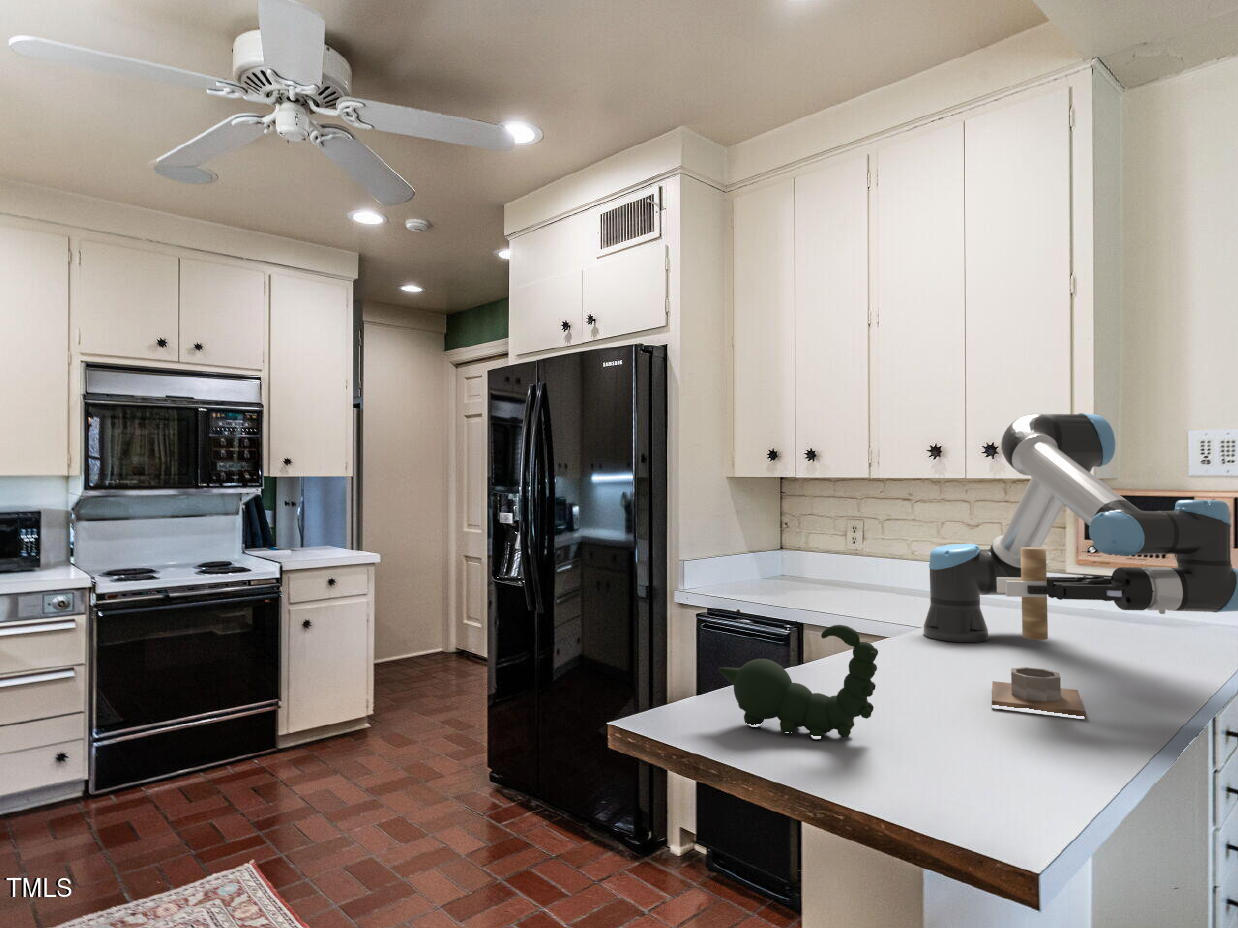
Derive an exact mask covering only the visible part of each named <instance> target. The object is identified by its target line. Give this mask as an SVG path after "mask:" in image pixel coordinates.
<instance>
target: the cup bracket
mask: <svg viewBox="0 0 1238 928" xmlns="http://www.w3.org/2000/svg"><path fill="white" fill-rule="evenodd" d="M1010 672H1011V673H1010V674H1011V682H1004V681H1003V682H1002V681H992V685H991V686H992V688H991V706H992V705H999V706H1007V707H1014V708H1029V709H1034V710H1041V711H1047V712H1054V713H1062V714H1068V715H1076V716H1084V717H1085V718H1086V709H1085V706H1084V704H1083V701H1082V699H1081V695H1080V693H1079V690H1078V689H1070V688H1061V686H1062V685H1061V684H1062V683H1061V682H1062V681H1061V674H1060V672H1057V671H1053V670H1049V669H1046V668H1039V667H1038V668H1037V667H1028V666H1023V667H1012V668H1011V669H1010Z"/></svg>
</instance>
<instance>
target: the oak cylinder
mask: <svg viewBox="0 0 1238 928" xmlns="http://www.w3.org/2000/svg"><path fill="white" fill-rule="evenodd" d="M1047 577H1048V576H1047V548H1044V547H1041V548H1033V547H1024V548H1021V581H1045V582H1046V586H1047ZM1021 623H1022V624H1021V627H1022V628H1021V629H1022V632H1021V633H1022V638H1024V639H1028V640H1037V641H1038V640H1039V641H1044V640H1045V641H1046V640H1048V639H1049V628H1048V627H1049V623H1048V596H1047V597H1021Z"/></svg>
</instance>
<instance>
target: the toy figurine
mask: <svg viewBox="0 0 1238 928" xmlns="http://www.w3.org/2000/svg"><path fill="white" fill-rule="evenodd" d="M820 637H821V638H822V639H826V638H828V637H836V638H838V639H840V640H841V641H843V643H844V644H846V645H848V646H849V647H853V648H852V656H853V657H852V658H851V659H850V661H849V663H848V674H847V675H846V676H845V678H844V680H843V687H842V688H841V689H840V690H839V691H838V692H837V694H836V695H831V696H829V695H826V694H823V693H819V692H814V693H813V692H812V691H811V690H810V688H808V687H807V686H806V685H804V684H803V683H802V684H801V683H800V682H799V683H797V682H792V679H791V676H790V674H789V673H788V672H787V671H786V669H785V668H784V667H783V666H782V665H780V664H779V663H777V662H775V661H773V660H771V659H769V658H757V659H752V660H750V661H747V662H746V663H743V665H742V666H741V667H728V666H727V667H726V666H725V667H723V666H722V667H718V668H717V671H718V672H719V674H721V675H722V676H723V677H724V678H725V679H726V680H728V681H729V682H730V683H731V685H733V693H734V697H735V700H736V703H737V704H738V705H737V706H738V708H739V709H740V710H743V712H744V714H743V719H744V721H743V722H744V723H745V724H746V723H747V724H751V725H754V724H755V725H756V724H761V723H762V722H763V723H764V721H765V720H772V719H775V718H777V719H778V720H779V721H780V722H779V728H780V731H781V732H782V733H784V732H789V733H791V732H793V733H794V732H795V731H797V728H802V727H803V728H804V729H806V730H807V731H808V730H809V731H808V732H809V733H808V734H810V735H813V736H822V735H823V736H824V734H823V733H825V734H827V732H828V733H830V732H831V731H833V730H837V733H838V734H837V735H839V736H840V737H841V738H848V737H850V735H851V733H852V729H853V728H854V726H855V721H854V720H855V718H856V717H861V718H863V719H866V720H867V719H869V718H871V717H872V713H874V705H873V704H872V703H871V702H869V701H868V698H870V697H871V696H873V694H874V691H875V690H876V685H877V684H876V683H875V682H873V681H872V679H873V678H874V676H875V674H876V672H877V670H878V667H877V664H876V663H875V662H874V661H876V659H877V657H878V654H879V650H878V648H877V647H874V645H873V644H872V643H870V642H868V641H860V635H859V633H858V632H857V631H856V630H855V629H854V628H852V627H851V626H848V625H843V624H834V625H831V626H829V627H827V628H825V629H824V630H823V631H822V633H821V636H820ZM747 724H746V725H747ZM810 735H809V736H810ZM823 736H822V737H823Z"/></svg>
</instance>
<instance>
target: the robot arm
mask: <svg viewBox="0 0 1238 928" xmlns="http://www.w3.org/2000/svg"><path fill="white" fill-rule="evenodd" d="M1000 442H1001V443H1000V444H1001V445H1000V446H1001V452H1002V456H1003V457H1004V459H1005V461H1006V463H1007V464H1008V465H1010V467H1012V468H1013V469H1014V470H1015V471H1016V472H1017V473H1019V474H1021V475H1022V476H1027V477H1028V476H1029V477H1031V478H1030V480H1029V482H1028V483H1027V486H1026V488H1025V490H1024V492H1023V495H1022V497H1021V498H1020V500H1019V503H1018V504H1017V507H1016V509H1015V511H1014V513H1013V515H1012V517H1011V519H1010V522H1009V523H1008V526H1007V528H1006V530H1005V532H1004V534H1002V535H998V536H997V537H996V538H995V539H994V540H993V541H992V543H991V545H990V548H988V549H987V548H986V549H984V548H983V549H980V546H979V545H978V544H976V543H957V544H956V543H955V544H953V543H952V544H947V545H946V544H945V545H941V546H938V547H934V548H933V549H932V550H931V551H930V553H929V564H928V567H929V591H930V593H929V595H930V598H929V599H930V602H929V603H930V604H929V608H928V611H927V614H926V616H925V617H926V618H925V620H924V624H923V636H925V637H927V638H930V639H934V640H938V641H946V642H953V643H954V642H955V643H980V642H985V641H988V640H989V629H988V626H987V623H986V620H985V618H984V614H983V613H982V609H981V596H1006V598H1007V597H1009V598H1010V597H1012V598H1017V597H1018V598H1022V597H1047V598H1051V599H1054V598H1056V599H1057V600H1060V601H1062V600H1076V601H1077V600H1080V601H1081V600H1083V601H1086V600H1087V601H1103V602H1104V601H1105V602H1114V605H1116V607H1117V608H1119V609H1120V610H1122V611H1145V610H1148V611H1158V613H1159V614H1160V615H1165V614H1166V611H1169V612H1170V611H1172V612H1175V611H1176V612H1200V613H1201V612H1202V613H1221V612H1222V613H1223V612H1226V613H1227V612H1238V568H1234V567H1233V564H1232V560H1231V558H1232V557H1231V552H1232V551H1231V533H1232V532H1231V530H1232V523H1231V513H1230V507H1229V505H1228V504H1227V502H1225V501H1224V500H1219V499H1218V500H1217V499H1180V500H1179V499H1178V500H1177V501H1176V502H1175V507H1174V510H1157V511H1156V510H1155V511H1153V510H1152V511H1151V510H1147V511H1145V510H1141V509H1139V508H1138V507H1137V506H1135V505H1134V504H1132V503H1131V502H1130V501H1129V500H1127V499H1126V498H1124V497H1123V496H1121V495H1120V494H1118V492H1116V491H1115V490H1114V489H1112V488H1111V487H1109V485H1107V484H1106V483H1104V482H1103V481H1101V480H1100V479H1099V478H1098V477H1096V476H1095V475H1093V474H1092V473H1091V471H1092V470H1093V468H1094V467H1097V468H1100V467H1104V466H1106V465H1108V464H1109V463H1111V461H1112V460H1113V458H1114V455H1115V451H1116V438H1115V433H1114V430H1113V427H1112V426H1111V425H1110V423H1109V421H1108V420H1107V419H1105V418H1104V417H1103V416H1102V415H1100V414H1099V415H1098V414H1094V413H1093V414H1091V413H1085V412H1079V413H1076V414H1075V413H1030V414H1026V415H1024V416H1021V417H1018V418H1017V419H1015V420H1014V421H1013V422H1011V424H1010V425H1008V426H1007V428H1006V429H1005V431H1004V433H1003V435H1002V437H1001V441H1000ZM1064 506H1065V507H1066V508H1067V509H1068V510H1070V511H1071V512H1072V513H1073V514H1075V515H1076V516H1077V517H1078V518H1080V519H1081V521H1083V522H1084V523H1085V524H1086V525H1087V526H1089V527H1088V534H1089V538H1090V540H1091V541H1092V542H1093V543H1092V545H1093V547H1094V548H1095V549H1096V550H1097V551H1098V552H1100V553H1102V554H1104V555H1115V556H1116V555H1117V556H1121V557H1122V556H1123V557H1127V556H1141V555H1143V556H1145V555H1146V556H1149V555H1175V556H1176V562H1177V564H1176V565H1177V567H1168V566H1167V567H1164V566H1163V567H1162V566H1159V567H1157V566H1151V567H1150V566H1147V567H1146V566H1145V567H1142V568H1141V567H1139V566H1138V567H1137V566H1136V567H1134V566H1133V567H1131V566H1130V567H1129V566H1128V567H1127V566H1124V567H1123V566H1121V567H1117V568H1115V569H1114V571H1113V572H1112V573H1111V576H1110V577H1105V576H1103V575H1093V576H1085V575H1083V576H1047V586H1046V582H1045V581H1021V548H1024V547H1033V548H1043V545H1044V543H1045V541H1046V539H1047V537H1048V536H1049V533H1050V532H1051V530H1052V528H1053V526H1054V524H1055V523H1056V521H1057V519H1058V518H1059V515H1060V513H1061V511H1062V509H1063V507H1064Z"/></svg>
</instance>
